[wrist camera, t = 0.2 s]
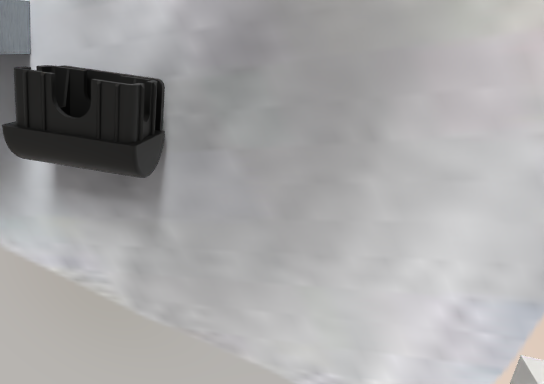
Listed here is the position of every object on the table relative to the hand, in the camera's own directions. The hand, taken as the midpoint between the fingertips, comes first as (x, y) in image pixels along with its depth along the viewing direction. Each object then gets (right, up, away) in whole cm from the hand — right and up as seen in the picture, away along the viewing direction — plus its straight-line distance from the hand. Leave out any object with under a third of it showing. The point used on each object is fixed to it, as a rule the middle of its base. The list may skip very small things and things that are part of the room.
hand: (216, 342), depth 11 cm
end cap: (-12, +10, +28) cm, 32 cm away
